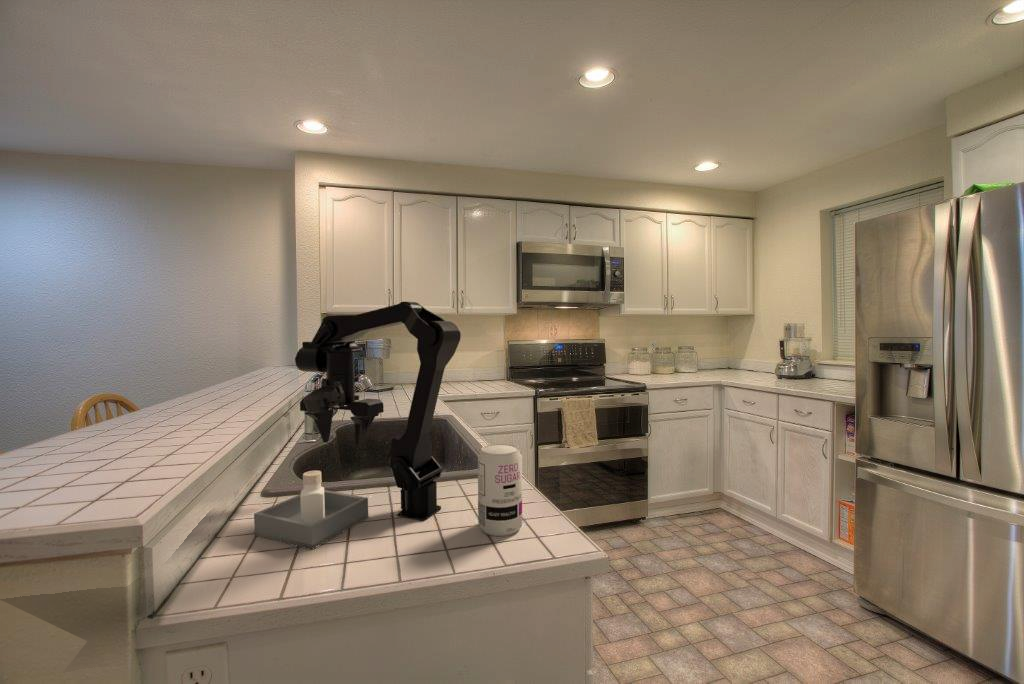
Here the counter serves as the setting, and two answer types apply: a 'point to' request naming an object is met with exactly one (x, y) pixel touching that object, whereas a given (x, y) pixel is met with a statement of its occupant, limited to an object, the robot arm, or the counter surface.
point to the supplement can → (500, 489)
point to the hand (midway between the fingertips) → (342, 444)
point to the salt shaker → (312, 498)
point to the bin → (288, 527)
